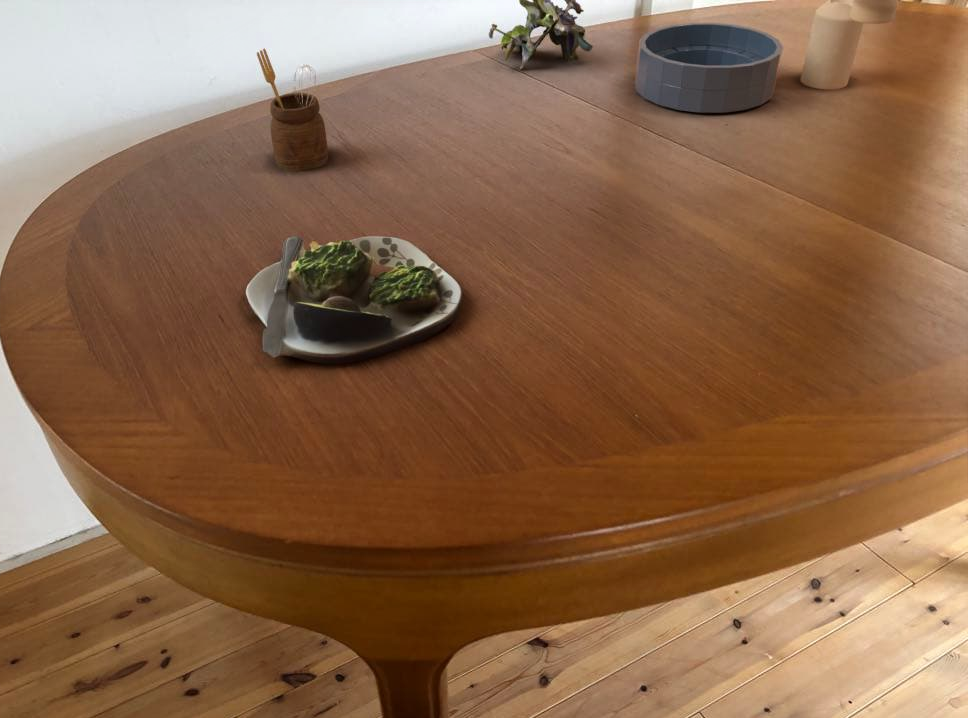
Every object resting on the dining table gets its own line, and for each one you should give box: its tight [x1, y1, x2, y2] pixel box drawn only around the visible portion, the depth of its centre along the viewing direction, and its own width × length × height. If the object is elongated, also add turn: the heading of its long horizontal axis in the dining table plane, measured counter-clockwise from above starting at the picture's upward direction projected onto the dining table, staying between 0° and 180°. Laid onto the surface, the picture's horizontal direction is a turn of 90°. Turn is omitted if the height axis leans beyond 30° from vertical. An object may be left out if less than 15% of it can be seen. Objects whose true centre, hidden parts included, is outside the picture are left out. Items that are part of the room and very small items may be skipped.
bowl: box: [634, 22, 784, 114], centre depth 108 cm, size 16×16×6 cm
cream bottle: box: [800, 0, 864, 90], centre depth 107 cm, size 6×6×10 cm
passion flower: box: [488, 0, 594, 71], centre depth 117 cm, size 11×11×12 cm
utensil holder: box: [256, 47, 329, 172], centre depth 95 cm, size 6×6×12 cm
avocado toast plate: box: [245, 235, 463, 365], centre depth 75 cm, size 19×18×5 cm
